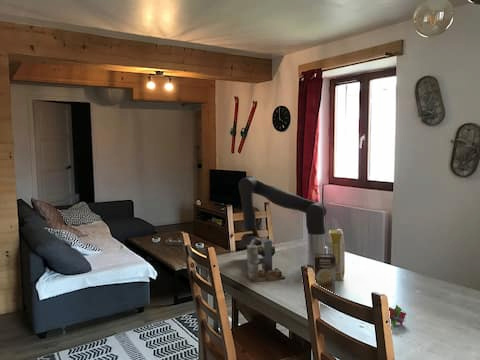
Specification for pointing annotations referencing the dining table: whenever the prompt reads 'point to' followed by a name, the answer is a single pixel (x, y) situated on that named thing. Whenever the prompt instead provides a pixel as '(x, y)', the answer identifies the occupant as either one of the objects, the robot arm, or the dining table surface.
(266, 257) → the grey clamp fixture
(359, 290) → the dining table surface
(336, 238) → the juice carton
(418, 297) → the dining table surface
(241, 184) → the robot arm
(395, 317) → the geometric puzzle
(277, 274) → the hinge jig
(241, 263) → the dining table surface
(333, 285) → the coffee box
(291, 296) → the dining table surface
